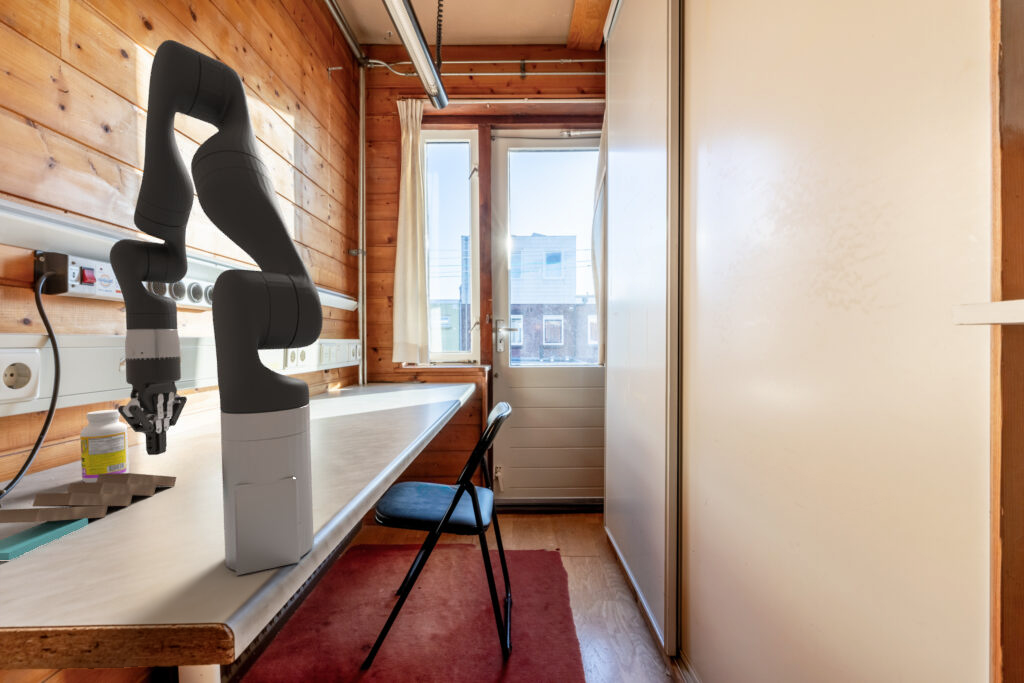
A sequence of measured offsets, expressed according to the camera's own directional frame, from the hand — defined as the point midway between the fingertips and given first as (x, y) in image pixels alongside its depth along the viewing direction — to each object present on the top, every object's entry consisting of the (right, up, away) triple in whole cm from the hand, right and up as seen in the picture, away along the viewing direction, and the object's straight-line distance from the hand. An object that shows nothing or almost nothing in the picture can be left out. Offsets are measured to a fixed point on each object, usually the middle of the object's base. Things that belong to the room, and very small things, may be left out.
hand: (156, 453), depth 79 cm
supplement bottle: (-15, -7, +7) cm, 18 cm away
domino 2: (+1, -6, -16) cm, 17 cm away
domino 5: (0, -5, +1) cm, 5 cm away
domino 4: (0, -5, -4) cm, 7 cm away
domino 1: (0, -5, -13) cm, 14 cm away
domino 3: (0, -5, -9) cm, 10 cm away
